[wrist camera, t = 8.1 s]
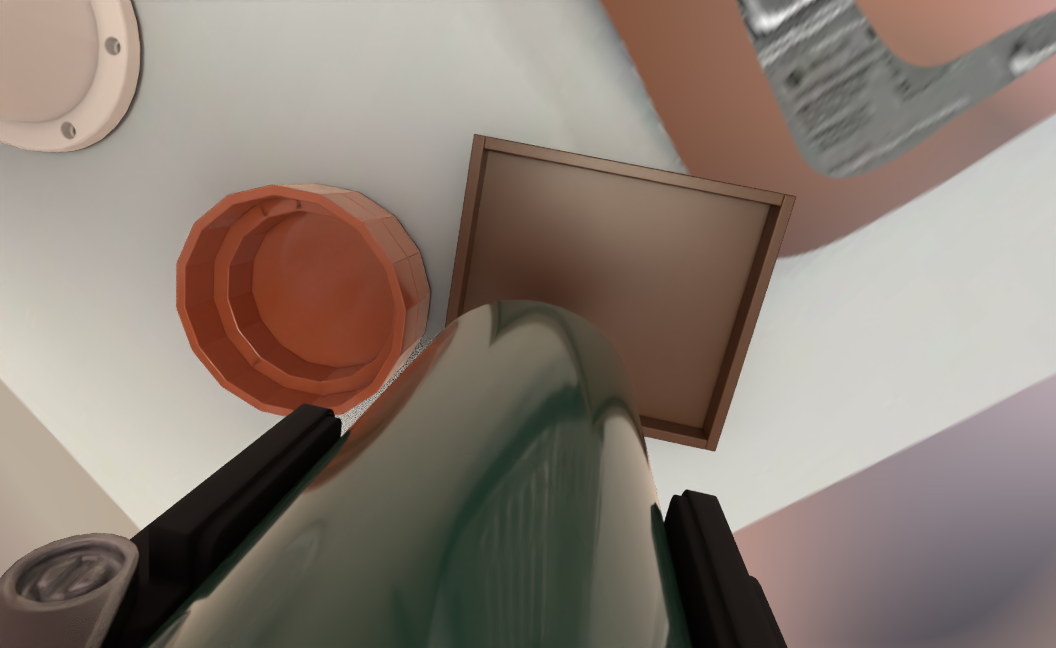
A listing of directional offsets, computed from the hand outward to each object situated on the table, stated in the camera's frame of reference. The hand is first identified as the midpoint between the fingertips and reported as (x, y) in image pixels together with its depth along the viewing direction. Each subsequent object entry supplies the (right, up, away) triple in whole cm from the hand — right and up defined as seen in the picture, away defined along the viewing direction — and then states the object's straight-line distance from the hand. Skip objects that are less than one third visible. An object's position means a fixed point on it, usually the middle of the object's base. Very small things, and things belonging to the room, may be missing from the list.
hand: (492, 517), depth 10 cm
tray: (+5, +5, +20) cm, 21 cm away
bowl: (-11, +6, +22) cm, 25 cm away
